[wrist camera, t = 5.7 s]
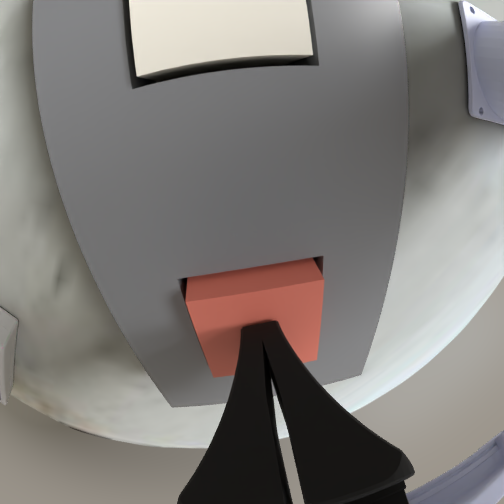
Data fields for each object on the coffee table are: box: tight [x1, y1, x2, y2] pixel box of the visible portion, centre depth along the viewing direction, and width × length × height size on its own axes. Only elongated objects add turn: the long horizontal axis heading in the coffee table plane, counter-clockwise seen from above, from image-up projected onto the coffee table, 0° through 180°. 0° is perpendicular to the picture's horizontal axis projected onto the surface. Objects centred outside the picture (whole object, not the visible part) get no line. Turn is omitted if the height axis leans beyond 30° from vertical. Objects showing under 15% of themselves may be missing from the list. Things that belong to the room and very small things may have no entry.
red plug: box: [185, 258, 324, 378], centre depth 12 cm, size 5×5×4 cm
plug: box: [129, 0, 313, 82], centre depth 6 cm, size 5×5×4 cm
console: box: [32, 0, 409, 407], centre depth 10 cm, size 26×12×4 cm, turn 6°
